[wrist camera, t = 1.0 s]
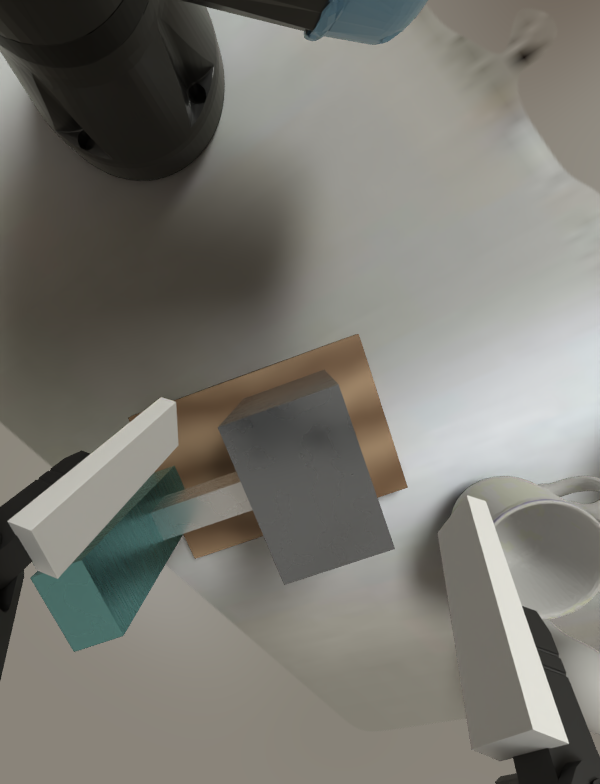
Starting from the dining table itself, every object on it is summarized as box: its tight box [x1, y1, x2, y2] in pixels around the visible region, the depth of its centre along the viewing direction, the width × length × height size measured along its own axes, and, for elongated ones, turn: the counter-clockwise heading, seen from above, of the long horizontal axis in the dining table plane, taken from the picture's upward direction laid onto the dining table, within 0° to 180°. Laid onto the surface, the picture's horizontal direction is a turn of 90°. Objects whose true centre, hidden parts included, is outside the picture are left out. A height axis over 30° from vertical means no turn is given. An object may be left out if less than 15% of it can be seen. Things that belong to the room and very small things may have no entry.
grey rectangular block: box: [218, 370, 395, 585], centre depth 24 cm, size 12×8×10 cm, turn 20°
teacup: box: [451, 476, 600, 620], centre depth 28 cm, size 14×11×8 cm
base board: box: [128, 334, 408, 559], centre depth 30 cm, size 16×23×2 cm
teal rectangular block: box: [31, 466, 252, 652], centre depth 22 cm, size 5×14×12 cm, turn 110°
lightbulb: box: [543, 619, 600, 735], centre depth 28 cm, size 6×6×11 cm
